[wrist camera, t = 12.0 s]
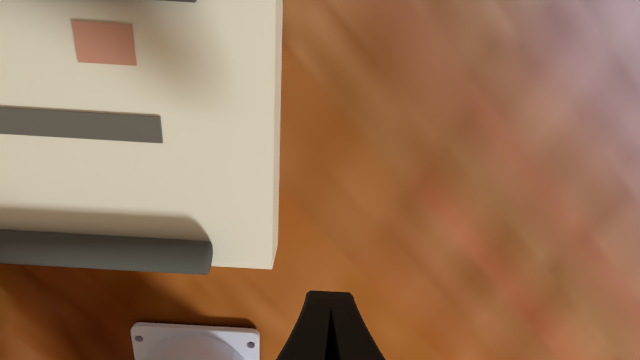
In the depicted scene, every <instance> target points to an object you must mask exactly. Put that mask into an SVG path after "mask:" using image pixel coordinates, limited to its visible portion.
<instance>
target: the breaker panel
mask: <svg viewBox="0 0 640 360" xmlns="http://www.w3.org/2000/svg"><path fill="white" fill-rule="evenodd" d="M282 11H283V0H197V1H196V2H195V3H193V2H177V1H161V0H0V229H6V230H24V231H42V232H59V233H77V234H94V235H112V236H129V237H147V238H164V239H182V240H199V241H211V243H212V246H213V257H212V264H211V266H222V267H240V268H258V269H272V267H273V263H274V259H275V254H276V250H277V246H278V210H279V160H280V111H281V61H282Z"/></svg>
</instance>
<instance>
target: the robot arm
mask: <svg viewBox="0 0 640 360" xmlns="http://www.w3.org/2000/svg"><path fill="white" fill-rule="evenodd" d="M130 332H131V338H132V345H133V351H134V357H135V360H260V334H259V332H258V331H257V330H256V329H252V328H236V327H218V326H200V325H181V324H163V323H145V322H137V323H135V324H134V325H133V327H132V328H131V331H130ZM140 336H141V337H140ZM142 337H143V338H142ZM249 342H253V343H249ZM276 360H385V358H384V357H383V355H382V353H381V352H380V350H379V349H378V347H377V345H376V343H375V342H374V340H373V338H372V336H371V335H370V333H369V331H368V329H367V327H366V325H365V323H364V321H363V319H362V317H361V315H360V313H359V311H358V308H357V306H356V304H355V301H354V298H353V296H352V295H351V294H350V293H349V292H328V291H309V292H308V293H306V299H305V302H304V305H303V308H302V311H301V313H300V316H299V318H298V320H297V322H296V324H295V326H294V328H293V330H292V333H291V335H290V337H289V338H288V340H287V342H286V344H285V346H284V347H283V349H282V351H281V352H280V354H279V356H278V357H277V359H276Z"/></svg>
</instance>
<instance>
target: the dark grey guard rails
mask: <svg viewBox="0 0 640 360" xmlns="http://www.w3.org/2000/svg"><path fill="white" fill-rule="evenodd" d="M161 1H177V2H193V3H195V2H196V1H197V0H161ZM212 257H213V246H212V243H211V241H199V240H182V239H164V238H147V237H129V236H112V235H94V234H77V233H59V232H42V231H24V230H6V229H0V263H4V264H21V265H39V266H57V267H75V268H93V269H110V270H128V271H146V272H164V273H181V274H199V275H207V274H208V272H209V270H210V268H211V264H212Z"/></svg>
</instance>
